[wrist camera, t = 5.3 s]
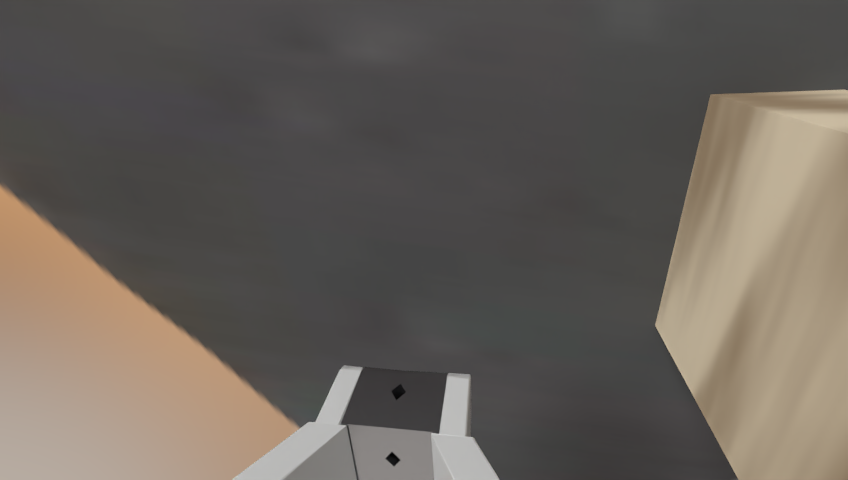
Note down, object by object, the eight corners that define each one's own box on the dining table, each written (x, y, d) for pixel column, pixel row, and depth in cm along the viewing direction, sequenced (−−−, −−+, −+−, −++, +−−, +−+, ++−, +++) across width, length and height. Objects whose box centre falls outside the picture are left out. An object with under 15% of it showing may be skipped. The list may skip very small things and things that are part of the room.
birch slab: (843, 89, 14) (1484, 193, 5) (753, 330, 18) (1000, 615, 9) (710, 94, 14) (1057, 193, 5) (654, 325, 19) (796, 587, 10)
